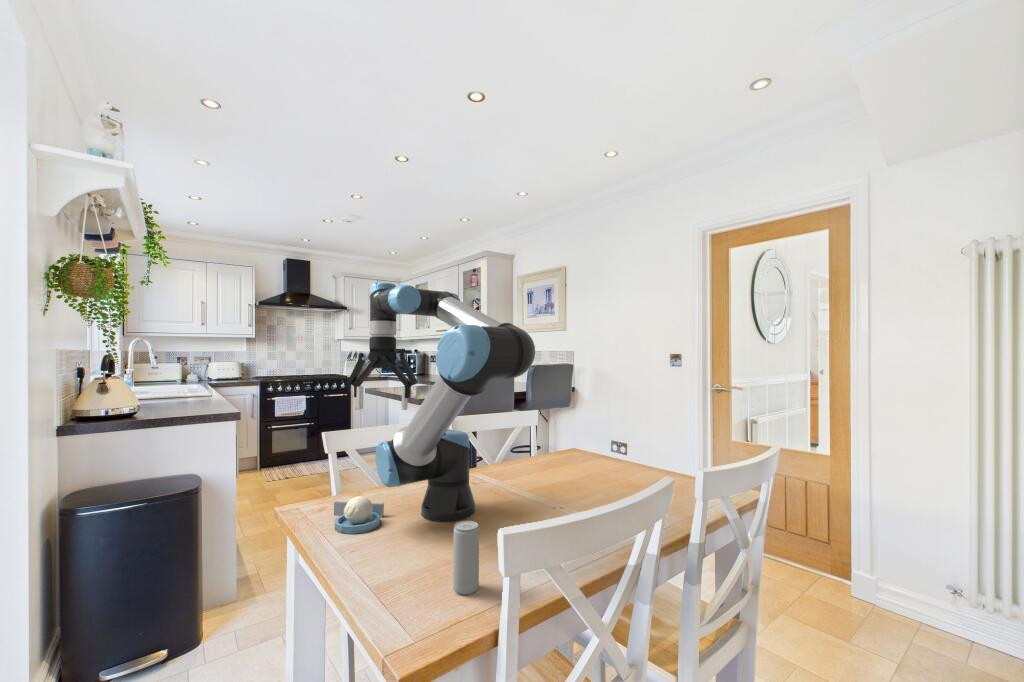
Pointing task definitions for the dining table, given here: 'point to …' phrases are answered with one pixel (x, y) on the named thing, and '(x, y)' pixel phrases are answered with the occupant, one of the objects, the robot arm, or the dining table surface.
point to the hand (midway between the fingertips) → (382, 409)
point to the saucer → (349, 528)
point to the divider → (341, 505)
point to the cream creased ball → (358, 510)
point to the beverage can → (466, 557)
